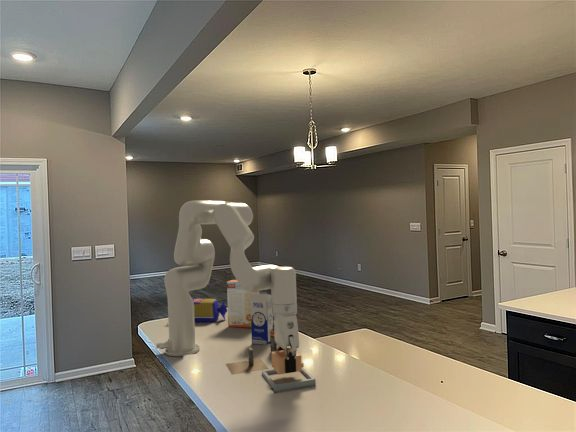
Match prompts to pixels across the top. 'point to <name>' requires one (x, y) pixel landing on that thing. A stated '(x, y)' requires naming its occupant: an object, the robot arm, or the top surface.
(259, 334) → the milk carton
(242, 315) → the cracker box
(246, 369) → the brown board with hook
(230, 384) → the top surface
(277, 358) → the ring
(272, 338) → the supplement bottle
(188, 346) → the robot arm
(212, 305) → the bread
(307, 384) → the tray
